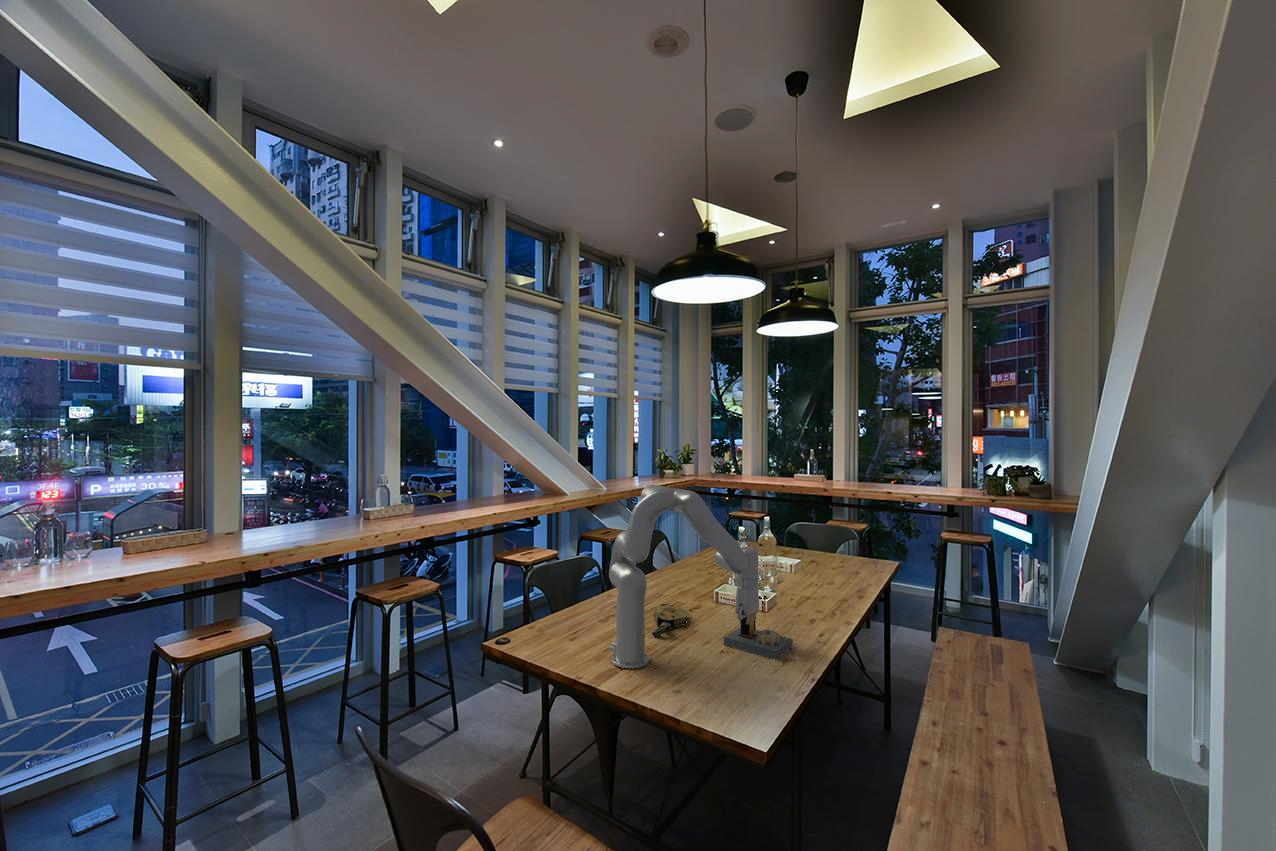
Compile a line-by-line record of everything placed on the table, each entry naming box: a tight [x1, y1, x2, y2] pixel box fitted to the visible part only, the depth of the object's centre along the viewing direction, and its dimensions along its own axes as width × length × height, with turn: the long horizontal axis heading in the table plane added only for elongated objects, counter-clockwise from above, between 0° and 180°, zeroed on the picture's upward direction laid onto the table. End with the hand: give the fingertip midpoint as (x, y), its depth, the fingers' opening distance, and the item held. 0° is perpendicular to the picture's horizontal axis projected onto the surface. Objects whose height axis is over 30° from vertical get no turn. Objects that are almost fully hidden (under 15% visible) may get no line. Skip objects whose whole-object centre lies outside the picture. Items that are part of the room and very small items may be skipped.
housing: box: [723, 626, 794, 661], centre depth 192 cm, size 20×14×6 cm
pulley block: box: [651, 603, 691, 637], centre depth 213 cm, size 14×6×30 cm
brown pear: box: [743, 613, 754, 638], centre depth 195 cm, size 4×4×8 cm
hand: (748, 632), depth 195 cm, fingers closed on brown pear, 4 cm apart
